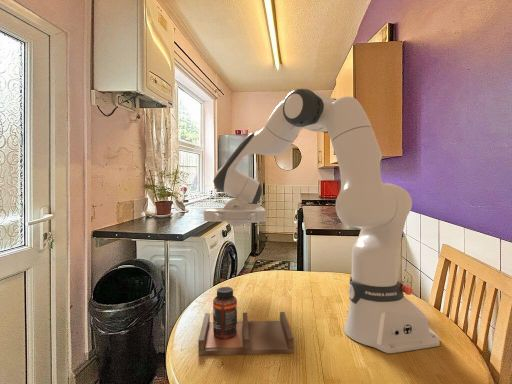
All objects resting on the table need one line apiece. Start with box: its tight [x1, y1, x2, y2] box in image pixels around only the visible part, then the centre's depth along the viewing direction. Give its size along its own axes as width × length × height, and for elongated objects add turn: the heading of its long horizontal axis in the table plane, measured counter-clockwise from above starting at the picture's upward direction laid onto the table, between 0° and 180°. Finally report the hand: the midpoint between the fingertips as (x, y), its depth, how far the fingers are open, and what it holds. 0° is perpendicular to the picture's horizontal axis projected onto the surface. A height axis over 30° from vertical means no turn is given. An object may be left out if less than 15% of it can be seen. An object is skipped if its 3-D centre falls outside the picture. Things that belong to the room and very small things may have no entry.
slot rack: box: [197, 311, 294, 356], centre depth 77 cm, size 22×14×4 cm, turn 93°
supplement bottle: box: [212, 286, 238, 339], centre depth 77 cm, size 6×6×11 cm
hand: (234, 218), depth 94 cm, fingers open, 8 cm apart
